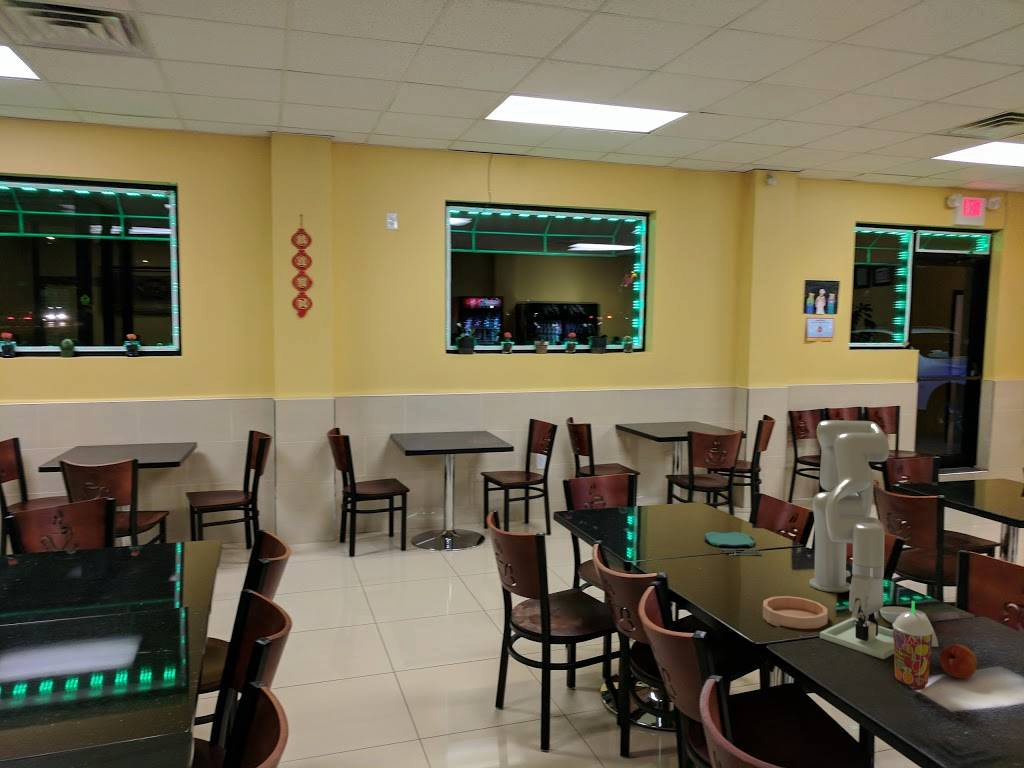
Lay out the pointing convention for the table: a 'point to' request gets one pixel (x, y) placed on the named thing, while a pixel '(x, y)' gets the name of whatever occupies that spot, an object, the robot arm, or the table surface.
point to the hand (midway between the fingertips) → (866, 636)
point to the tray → (846, 637)
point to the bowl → (794, 612)
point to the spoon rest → (893, 612)
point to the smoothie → (912, 648)
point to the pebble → (870, 633)
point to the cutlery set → (731, 541)
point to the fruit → (958, 661)
